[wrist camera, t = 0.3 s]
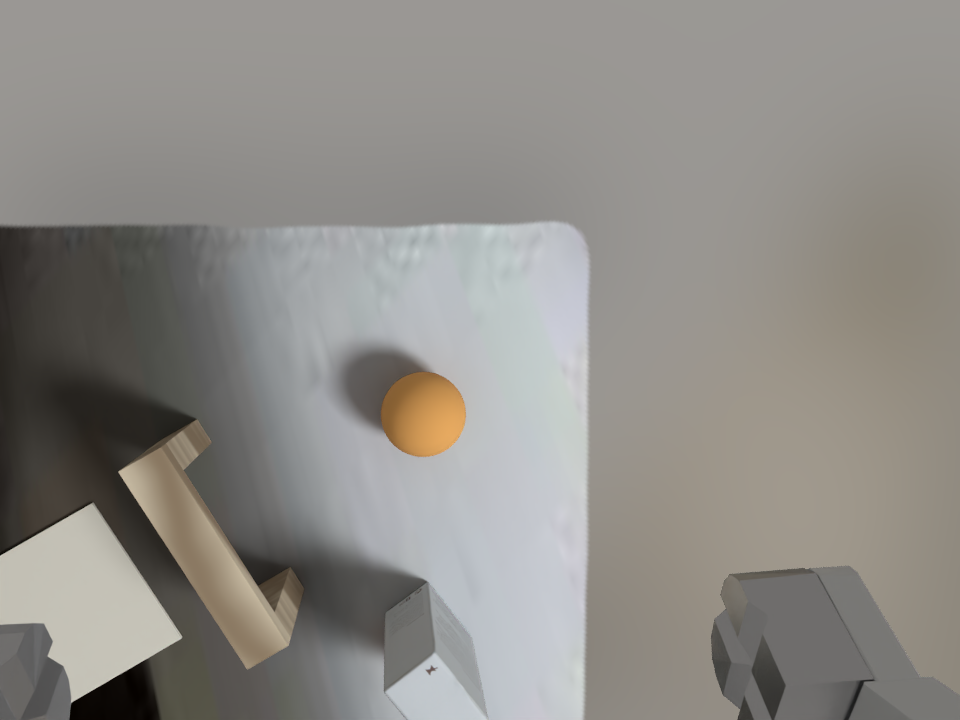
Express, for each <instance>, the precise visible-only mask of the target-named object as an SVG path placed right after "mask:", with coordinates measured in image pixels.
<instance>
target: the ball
mask: <svg viewBox="0 0 960 720" xmlns="http://www.w3.org/2000/svg"><path fill="white" fill-rule="evenodd" d="M465 417H466V412H465V405H464V401H463V398H462V396H461V394H460V392H459V391H458V389H457V388H456V387H455V386H454V385H453V384H452V383H451V382H450V381H449V380H447V379H446V378H444V377H442V376H440V375H438V374H435V373H430V372H417V373H412V374H409V375H407V376H405V377H402V378H401V379H399V380H398V381H397V382H396V383H394V384H393V385H392V387H391V388H390V389H389V390H388V392H387V394H386V396H385V398H384V400H383V403H382V408H381V421H382V426H383V429H384V432H385V434H386V436H387V437H388V439H389V440H390V441H391V443H392V444H393V445H394V446H396V447H397V448H398V449H400V450H401V451H403V452H405V453H407V454H410V455H413V456H418V457H427V456H433V455H437V454H439V453H442V452H444V451H445V450H447V449H448V448H450V447H451V446H452V445H453V444H454V443H455V442H456V441H457V439H458V438H459V436H460V434H461V432H462V430H463V428H464V424H465Z"/></svg>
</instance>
